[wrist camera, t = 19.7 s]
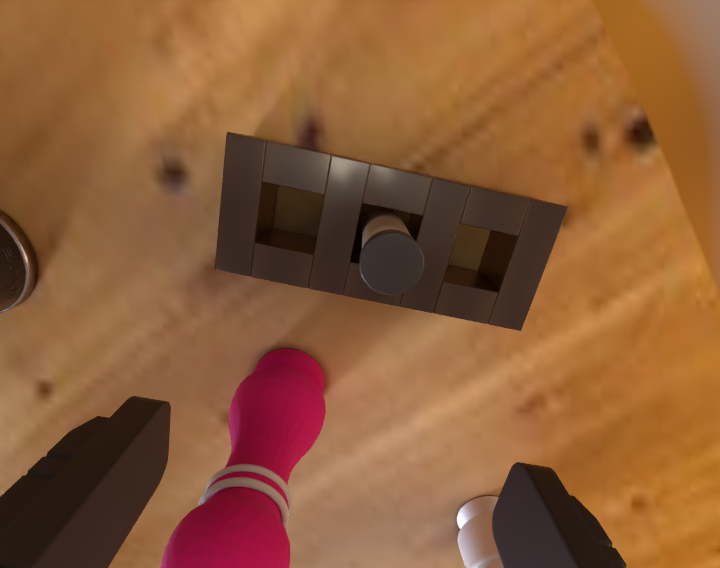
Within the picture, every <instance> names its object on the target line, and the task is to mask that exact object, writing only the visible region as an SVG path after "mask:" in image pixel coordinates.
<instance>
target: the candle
mask: <svg viewBox="0 0 720 568" xmlns="http://www.w3.org/2000/svg"><path fill="white" fill-rule="evenodd" d="M498 498H499V497H495V496H483V497H478V498H475V499H472V500H471V501H469V502H467V503H466V504H465V505H464V506H463V507H462V508H461V509H460V511H459V513H458V516H457V523H458V526H459V528H460V531H459V534H458V539H457V540H458V545H459V549H460V552H461V555H462V558H463V561H464V564H465V567H466V568H504V567H503V564H502V561H501V558H500V555H499V552H498V549H497V546H496V544H495V540H494V537H493V531H492V516H493V510H494V508H495V505H496V503H497V500H498Z"/></svg>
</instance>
